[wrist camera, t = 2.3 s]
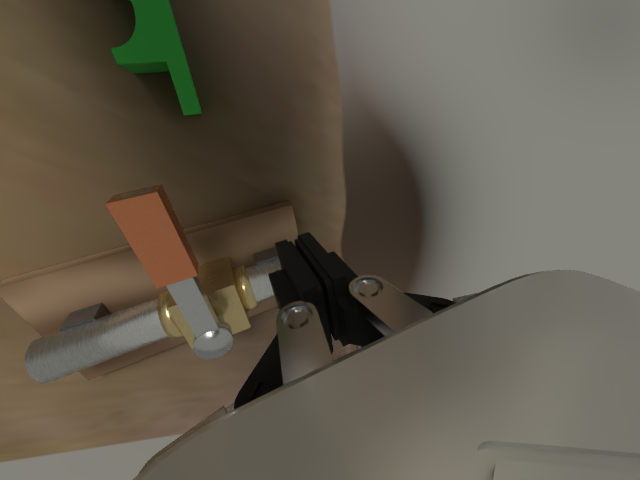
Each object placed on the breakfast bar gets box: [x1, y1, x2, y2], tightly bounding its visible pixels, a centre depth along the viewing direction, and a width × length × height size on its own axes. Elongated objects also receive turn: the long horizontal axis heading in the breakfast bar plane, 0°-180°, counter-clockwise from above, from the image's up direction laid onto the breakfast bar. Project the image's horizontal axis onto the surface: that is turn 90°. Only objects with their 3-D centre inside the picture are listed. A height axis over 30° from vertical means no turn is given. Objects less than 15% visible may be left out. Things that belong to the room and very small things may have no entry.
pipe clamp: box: [111, 0, 202, 116], centre depth 16 cm, size 11×4×5 cm, turn 6°
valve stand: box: [0, 201, 298, 380], centre depth 26 cm, size 12×24×2 cm, turn 99°
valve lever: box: [105, 185, 233, 359], centre depth 17 cm, size 13×3×3 cm, turn 9°
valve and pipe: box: [25, 247, 281, 383], centre depth 23 cm, size 5×22×5 cm, turn 99°
